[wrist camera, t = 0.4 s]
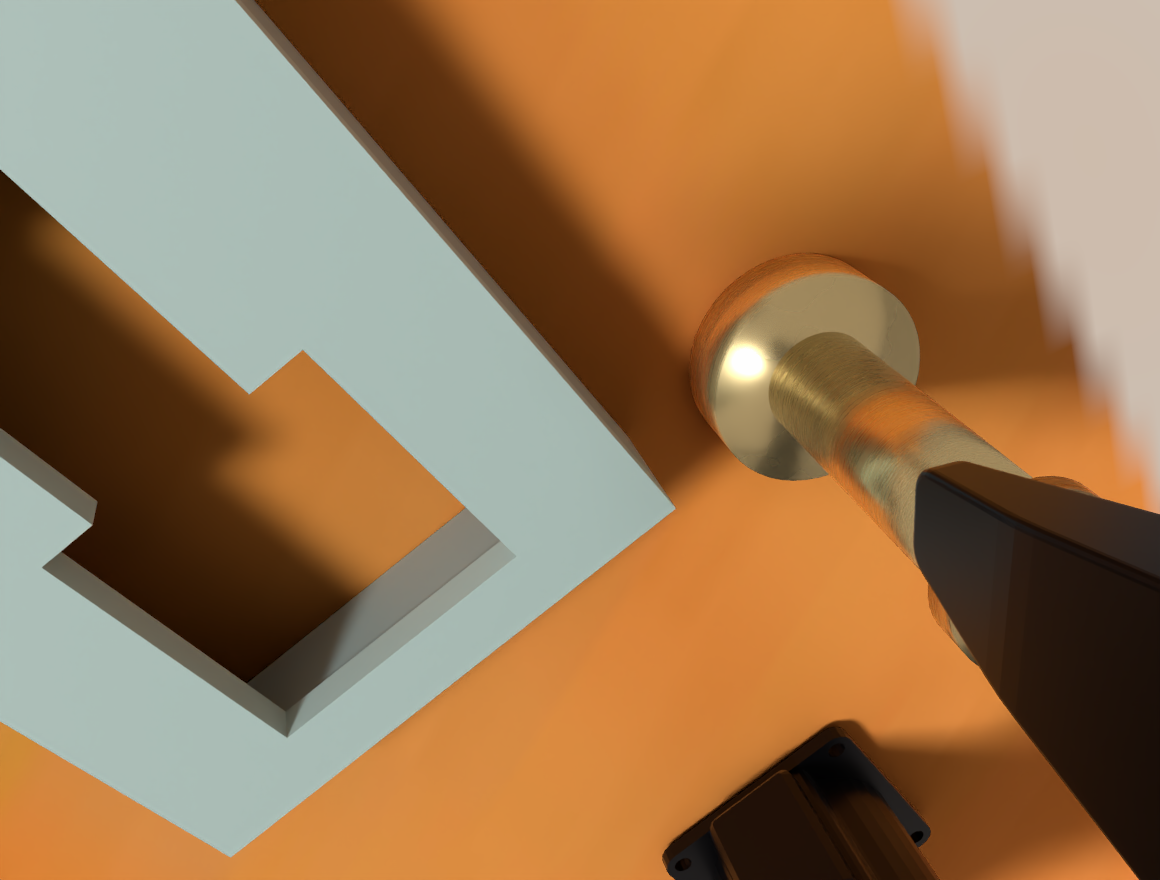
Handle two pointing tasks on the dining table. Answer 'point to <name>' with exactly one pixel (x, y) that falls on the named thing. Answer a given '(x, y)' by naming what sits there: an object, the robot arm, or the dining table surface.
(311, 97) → the keyhole plate
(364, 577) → the dining table surface
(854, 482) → the brass door knob
